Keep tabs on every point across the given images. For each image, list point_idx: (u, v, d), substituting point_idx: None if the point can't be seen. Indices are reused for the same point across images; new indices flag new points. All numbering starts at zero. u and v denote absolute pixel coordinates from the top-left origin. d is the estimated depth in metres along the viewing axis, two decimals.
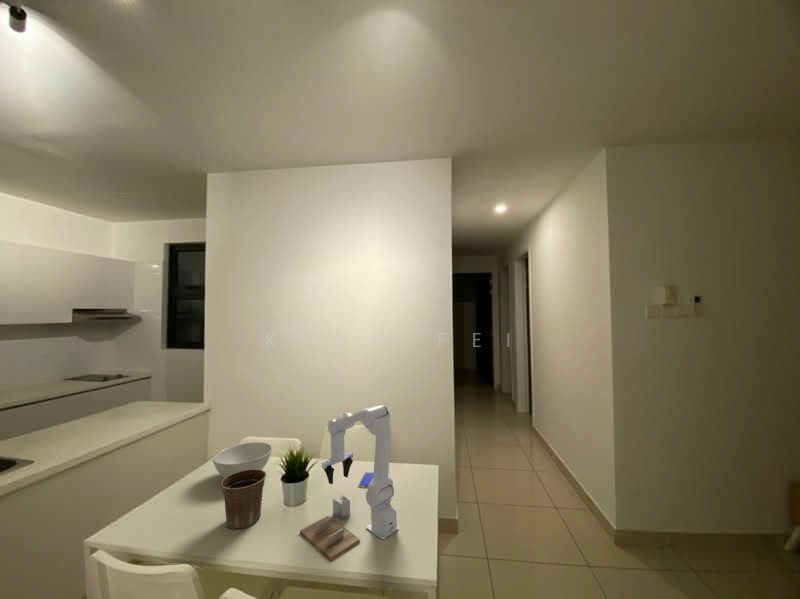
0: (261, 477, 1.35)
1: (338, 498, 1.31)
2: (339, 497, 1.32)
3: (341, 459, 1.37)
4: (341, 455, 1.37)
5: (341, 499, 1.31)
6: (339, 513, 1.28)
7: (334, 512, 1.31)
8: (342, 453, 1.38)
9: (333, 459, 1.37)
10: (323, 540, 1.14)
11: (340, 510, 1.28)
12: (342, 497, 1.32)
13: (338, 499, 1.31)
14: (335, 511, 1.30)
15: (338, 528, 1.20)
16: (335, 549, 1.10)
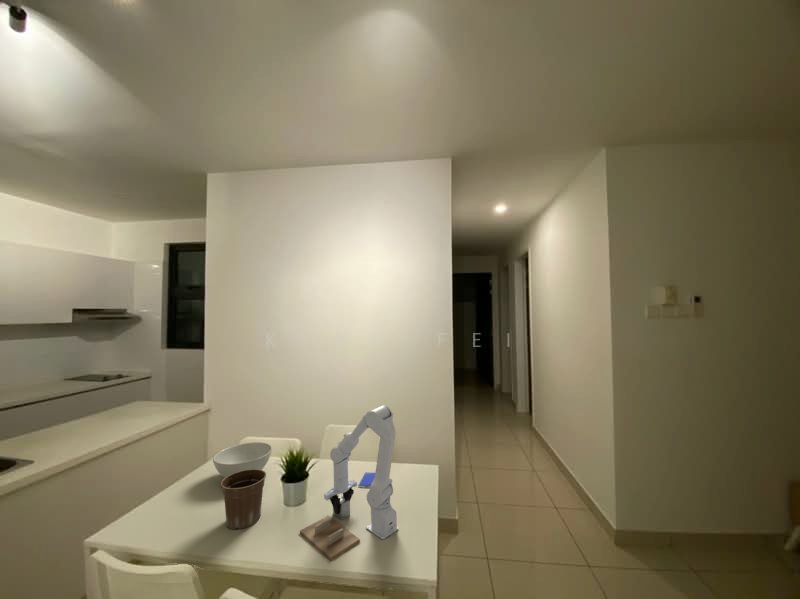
0: (261, 477, 1.35)
1: None
2: (339, 497, 1.32)
3: (344, 489, 1.29)
4: (344, 485, 1.29)
5: (341, 499, 1.30)
6: (339, 513, 1.28)
7: None
8: (346, 483, 1.30)
9: (336, 489, 1.29)
10: (323, 540, 1.14)
11: (340, 510, 1.28)
12: (342, 497, 1.32)
13: None
14: None
15: (338, 528, 1.20)
16: (335, 549, 1.10)
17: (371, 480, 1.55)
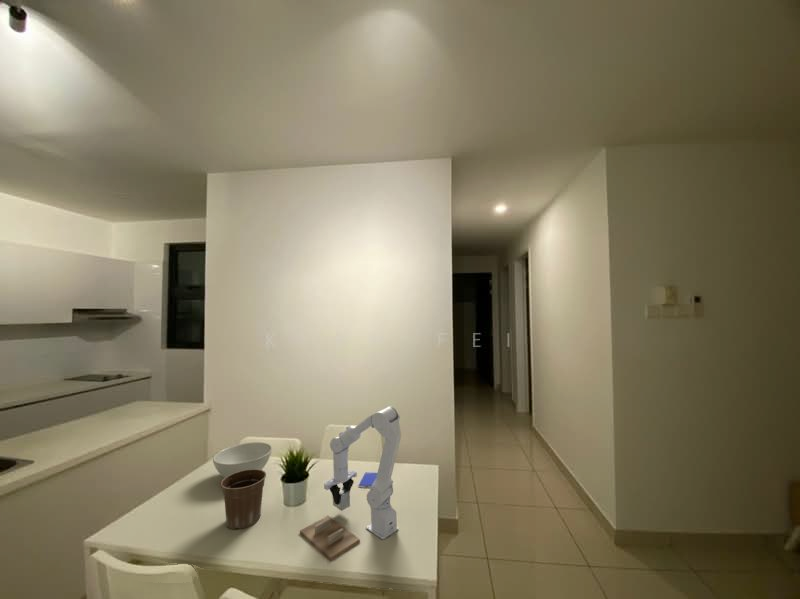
0: (261, 477, 1.35)
1: None
2: None
3: (344, 479, 1.29)
4: (344, 475, 1.29)
5: (341, 490, 1.31)
6: (339, 504, 1.28)
7: (334, 503, 1.31)
8: (345, 473, 1.30)
9: (336, 479, 1.29)
10: (323, 540, 1.14)
11: (340, 501, 1.28)
12: (342, 488, 1.32)
13: None
14: None
15: (338, 528, 1.20)
16: (335, 549, 1.10)
17: (371, 480, 1.55)
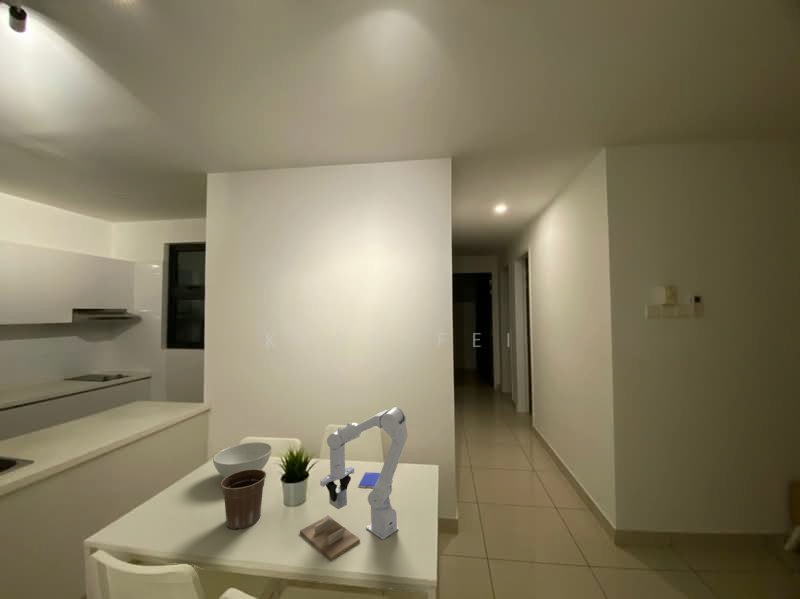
0: (261, 477, 1.35)
1: None
2: None
3: (341, 476, 1.26)
4: (341, 471, 1.26)
5: (338, 488, 1.27)
6: (335, 502, 1.25)
7: (330, 501, 1.27)
8: (342, 469, 1.26)
9: (332, 476, 1.25)
10: (323, 540, 1.14)
11: (336, 499, 1.25)
12: (339, 486, 1.29)
13: None
14: (331, 501, 1.27)
15: (338, 528, 1.20)
16: (335, 549, 1.10)
17: (371, 480, 1.55)
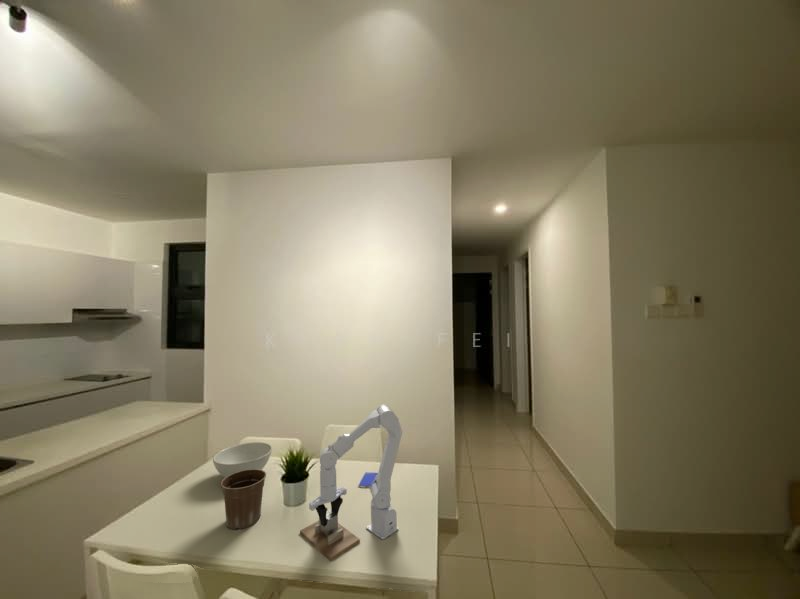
0: (261, 477, 1.35)
1: None
2: None
3: (332, 498, 1.16)
4: (332, 493, 1.16)
5: (328, 514, 1.17)
6: (326, 530, 1.15)
7: (320, 528, 1.17)
8: (333, 491, 1.16)
9: (323, 498, 1.15)
10: (323, 540, 1.14)
11: (327, 526, 1.15)
12: (329, 511, 1.19)
13: None
14: (321, 527, 1.17)
15: (338, 528, 1.20)
16: (335, 549, 1.10)
17: (371, 480, 1.55)
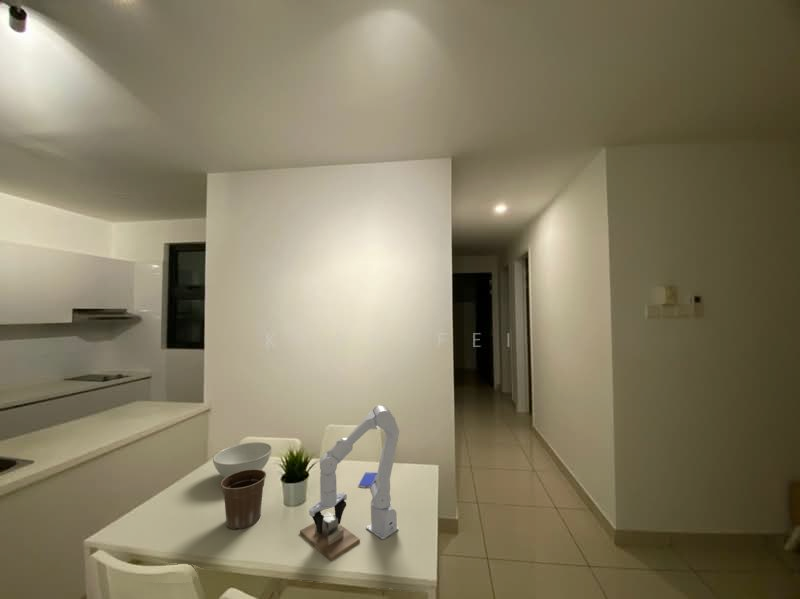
0: (261, 477, 1.35)
1: (325, 516, 1.18)
2: (326, 514, 1.19)
3: (332, 504, 1.16)
4: (332, 499, 1.16)
5: (329, 517, 1.17)
6: (326, 533, 1.15)
7: None
8: (333, 496, 1.16)
9: (323, 504, 1.15)
10: (323, 540, 1.14)
11: (327, 530, 1.15)
12: (329, 514, 1.19)
13: (325, 517, 1.18)
14: None
15: (338, 528, 1.20)
16: (335, 549, 1.10)
17: (371, 480, 1.55)
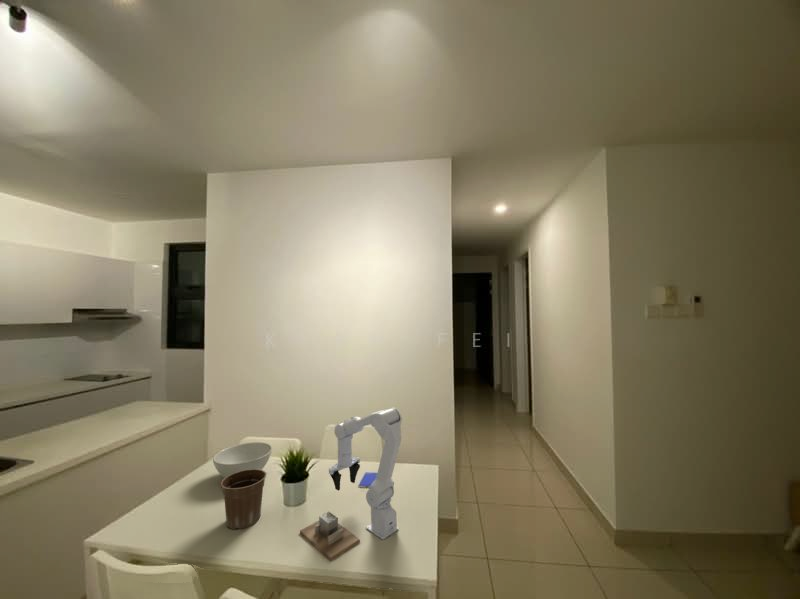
0: (261, 477, 1.35)
1: (325, 516, 1.18)
2: (326, 514, 1.19)
3: (348, 464, 1.33)
4: (348, 460, 1.33)
5: (329, 517, 1.17)
6: (326, 533, 1.15)
7: (320, 531, 1.17)
8: (349, 458, 1.33)
9: (340, 464, 1.32)
10: (323, 540, 1.14)
11: (327, 530, 1.15)
12: (329, 514, 1.19)
13: (325, 517, 1.18)
14: (321, 531, 1.17)
15: (338, 528, 1.20)
16: (335, 549, 1.10)
17: (371, 480, 1.55)
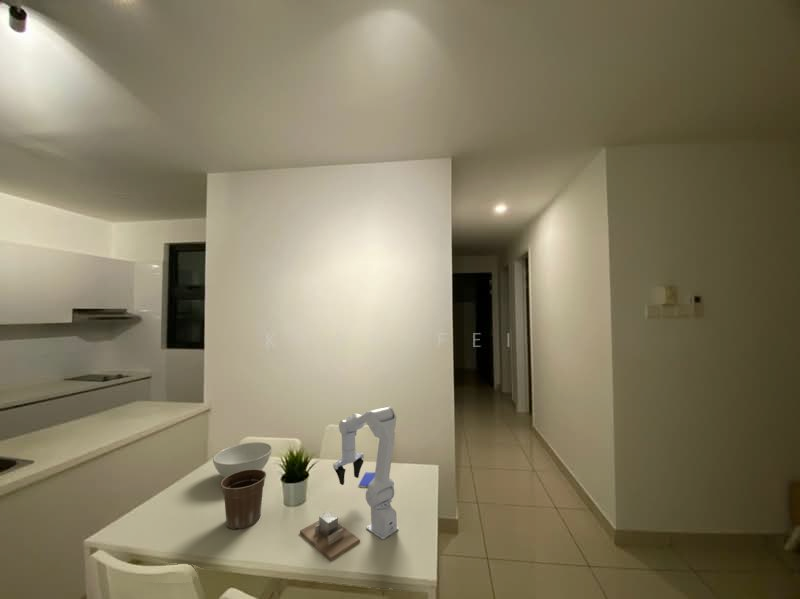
0: (261, 477, 1.35)
1: (325, 516, 1.18)
2: (326, 514, 1.19)
3: (352, 460, 1.37)
4: (352, 456, 1.37)
5: (329, 517, 1.17)
6: (326, 533, 1.15)
7: (320, 531, 1.17)
8: (353, 454, 1.38)
9: (344, 460, 1.37)
10: (323, 540, 1.14)
11: (327, 530, 1.15)
12: (329, 514, 1.19)
13: (325, 517, 1.18)
14: (321, 531, 1.17)
15: (338, 528, 1.20)
16: (335, 549, 1.10)
17: (371, 480, 1.55)
